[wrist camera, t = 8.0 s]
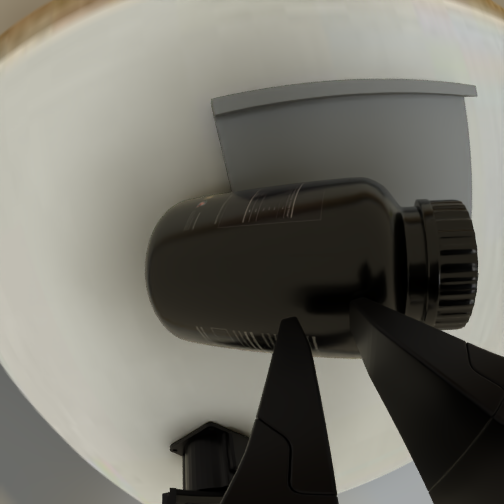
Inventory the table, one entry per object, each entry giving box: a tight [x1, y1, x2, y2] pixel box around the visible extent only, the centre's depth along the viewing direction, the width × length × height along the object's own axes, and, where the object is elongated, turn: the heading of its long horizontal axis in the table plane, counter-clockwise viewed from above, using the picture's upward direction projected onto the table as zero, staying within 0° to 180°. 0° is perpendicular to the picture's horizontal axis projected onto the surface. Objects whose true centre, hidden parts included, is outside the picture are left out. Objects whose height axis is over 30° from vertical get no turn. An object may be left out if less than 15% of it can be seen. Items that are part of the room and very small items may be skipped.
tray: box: [211, 79, 479, 355], centre depth 17 cm, size 18×16×2 cm
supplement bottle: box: [145, 177, 478, 359], centre depth 11 cm, size 7×7×12 cm
